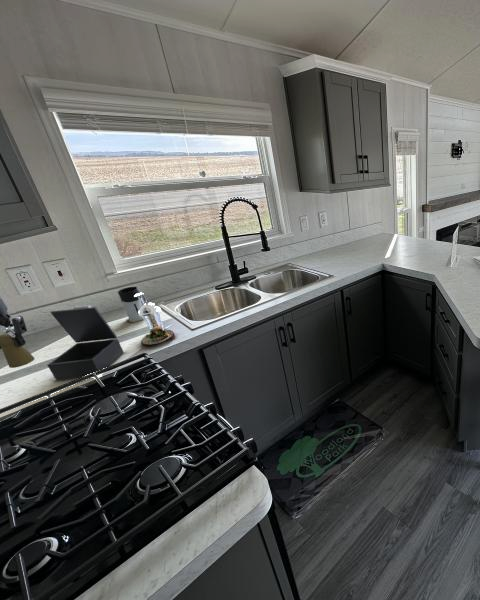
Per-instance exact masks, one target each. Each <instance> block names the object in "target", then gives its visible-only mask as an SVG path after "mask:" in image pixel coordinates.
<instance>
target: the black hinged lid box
mask: <svg viewBox="0 0 480 600" xmlns="http://www.w3.org/2000/svg"><path fill="white" fill-rule="evenodd" d="M124 354H125V351H124V350H123V347H122V346H121V343H120V341H119V339H118V338H115V339H106V340H97V341H87V342H78V343H75V344H74V345H73V346H71V347H70V348H68V349H67V350H66V351H64V352H63V353H61V354H60V355H59V356H57V357H56V358H55V359H53V360H52V361H50V362H49V363H48V364H46V365H47V366H46V367H48V369H49V370H50V372H51V374H52V375H53V377H54V379H55V381H62V380H70V379H78V378H83V377H82V376H85V375H87V374H90V373H93V372H96V371H99V370H102V369H103V368H106V367H108V368H110V367H111V366H112V365H113V364H114V363H115V362H116V361H117V360H118V359H120V358H121V356H123V355H124ZM109 366H110V367H109Z"/></svg>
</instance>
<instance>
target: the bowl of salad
mask: <svg viewBox="0 0 480 600" xmlns="http://www.w3.org/2000/svg"><path fill="white" fill-rule="evenodd" d="M170 338H172V339H173V340H174V339H175V338H176V336H175V332H174V331H173V330H171V329H164V330H163V329H162V327H160V326H156V325H155V327H153V328H152V329H151V330H150V329H149V334H147V333H146V335H144V337H143V338H142V339H141V341H140V344H141V345H142V346H143V345H148V346H149V345H156V344H160V343H163V342H165V341H167V340H169V339H170Z"/></svg>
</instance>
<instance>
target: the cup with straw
mask: <svg viewBox="0 0 480 600" xmlns="http://www.w3.org/2000/svg"><path fill="white" fill-rule="evenodd" d="M139 295H140V296H141V297H142V299H143V302H144V304H143V305H142V306H141V307H140V311H139V312H138V315H139V316H142V318H143V320H144V322H145V323H146V325H147V327H148V328H149V331H150V330H151V329H152V328H153V327H155V325H156V326H160V327H162V329H163V330H165V329H164V323H163V320H162V316H161V315H162V314H161V311H162V308H161V306H159V305H157V304H156V303H153V302H148V301H146V300H147V298H146V296H145V294H144V292H139V294H137V295H134V296H133V297H136V296H139Z"/></svg>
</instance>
